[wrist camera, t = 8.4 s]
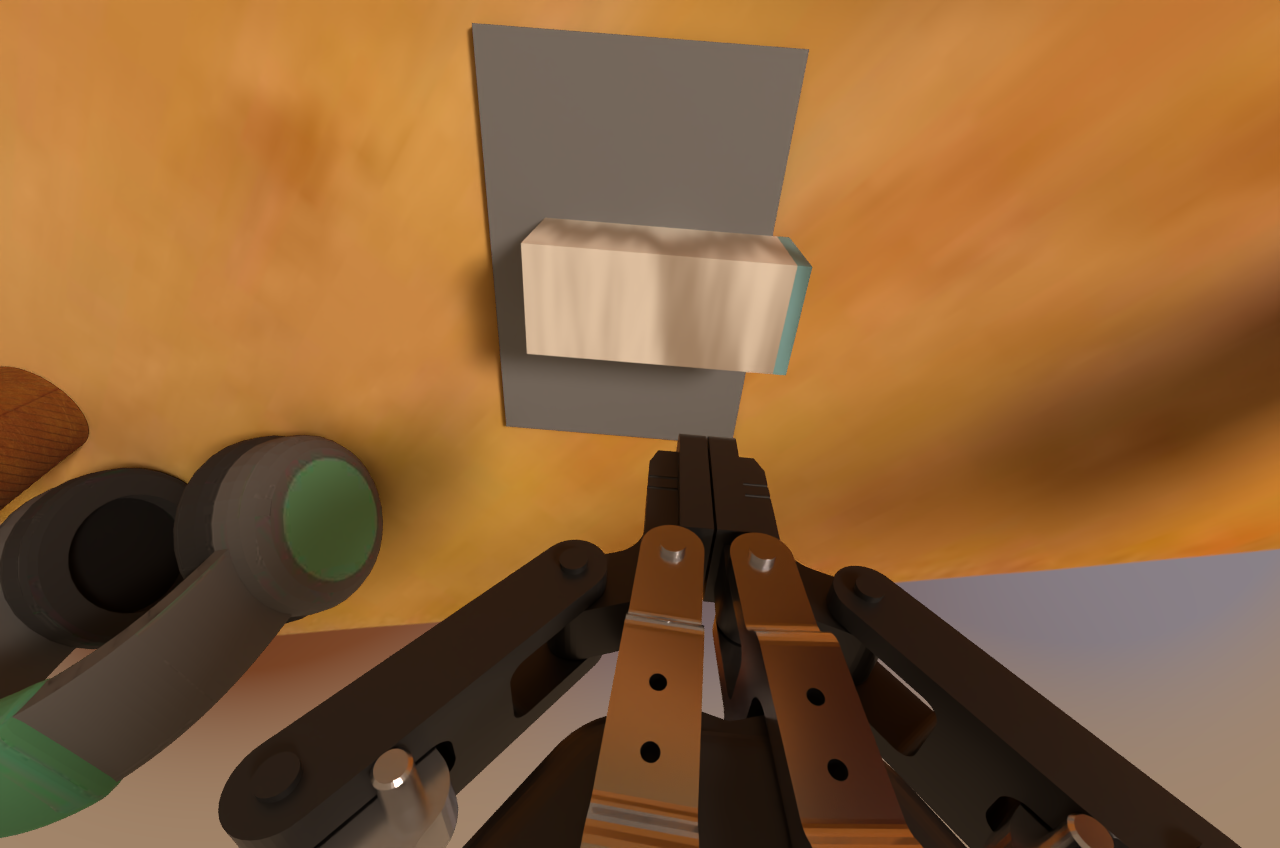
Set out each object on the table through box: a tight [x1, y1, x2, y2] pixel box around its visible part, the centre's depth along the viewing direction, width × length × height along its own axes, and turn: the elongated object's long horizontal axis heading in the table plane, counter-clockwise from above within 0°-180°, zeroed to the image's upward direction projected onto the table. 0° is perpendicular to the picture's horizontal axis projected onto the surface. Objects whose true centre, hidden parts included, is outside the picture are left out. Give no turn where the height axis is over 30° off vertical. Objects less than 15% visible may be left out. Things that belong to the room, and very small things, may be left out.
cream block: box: [521, 218, 812, 375], centre depth 25 cm, size 5×5×12 cm
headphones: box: [0, 435, 383, 838], centre depth 29 cm, size 19×11×20 cm, turn 104°
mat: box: [472, 23, 809, 440], centre depth 27 cm, size 14×20×1 cm
